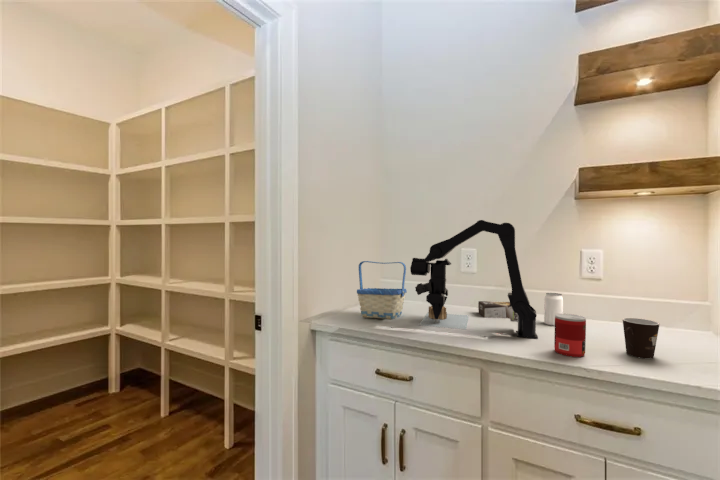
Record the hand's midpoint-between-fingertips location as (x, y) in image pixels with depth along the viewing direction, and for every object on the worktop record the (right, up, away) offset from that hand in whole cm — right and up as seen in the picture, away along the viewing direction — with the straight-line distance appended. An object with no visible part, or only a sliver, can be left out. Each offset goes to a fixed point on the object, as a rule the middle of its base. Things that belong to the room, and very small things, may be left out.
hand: (437, 317), depth 139 cm
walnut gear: (+2, -2, +7) cm, 8 cm away
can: (+47, -4, +4) cm, 47 cm away
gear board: (+4, -3, +4) cm, 6 cm away
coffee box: (+38, 0, +13) cm, 40 cm away
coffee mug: (+51, -5, -32) cm, 61 cm away
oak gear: (0, 0, 0) cm, 0 cm away
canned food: (+33, -4, -31) cm, 45 cm away
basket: (-21, -3, +12) cm, 25 cm away
